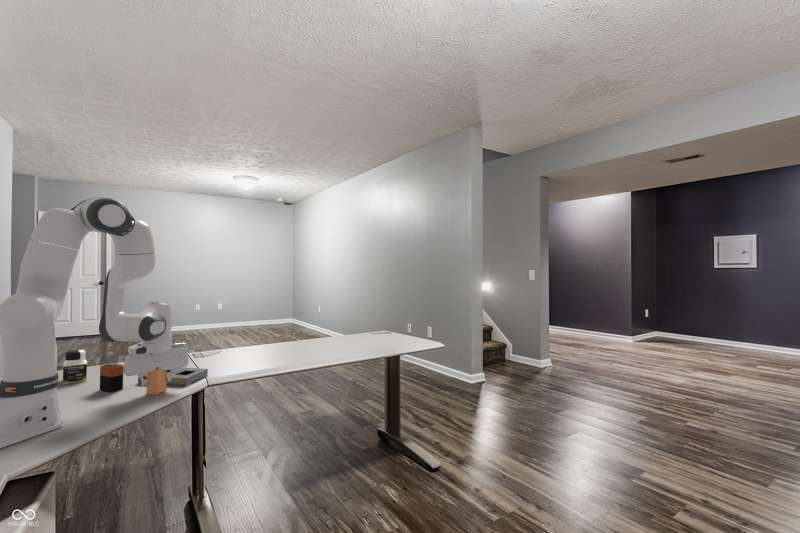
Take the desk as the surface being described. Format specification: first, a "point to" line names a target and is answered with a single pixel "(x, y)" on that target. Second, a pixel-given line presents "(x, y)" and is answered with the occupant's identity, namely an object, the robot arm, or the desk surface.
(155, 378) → the plug
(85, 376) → the medicine bottle
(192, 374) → the socket plate
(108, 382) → the battery
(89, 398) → the desk surface
